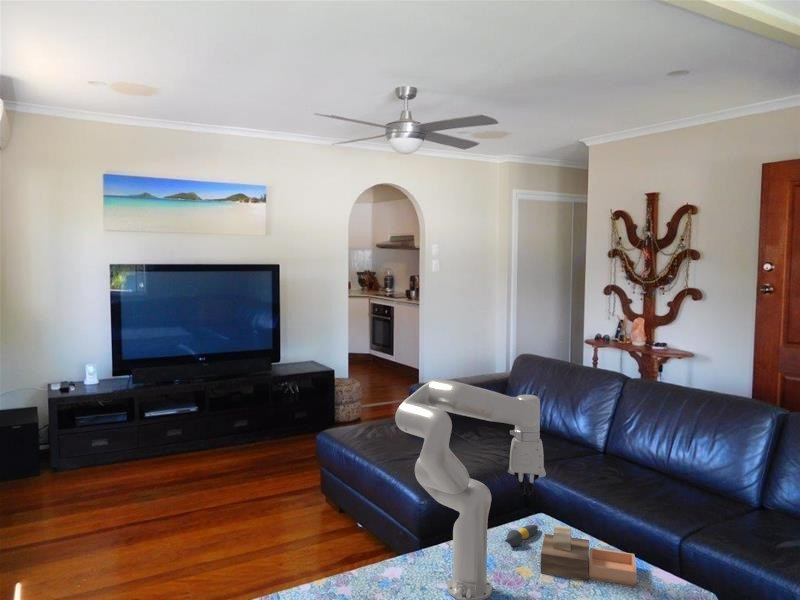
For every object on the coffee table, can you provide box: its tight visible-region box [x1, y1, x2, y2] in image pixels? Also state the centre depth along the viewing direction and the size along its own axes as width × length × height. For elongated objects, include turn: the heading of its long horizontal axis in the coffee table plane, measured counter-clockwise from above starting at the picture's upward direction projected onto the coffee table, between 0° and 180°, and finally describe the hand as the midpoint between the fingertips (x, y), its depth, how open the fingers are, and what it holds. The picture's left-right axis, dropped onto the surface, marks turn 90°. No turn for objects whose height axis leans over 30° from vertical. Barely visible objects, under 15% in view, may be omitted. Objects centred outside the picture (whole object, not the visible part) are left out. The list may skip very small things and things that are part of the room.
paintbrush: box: [504, 524, 539, 547], centre depth 202 cm, size 20×5×5 cm, turn 143°
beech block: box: [552, 525, 572, 551], centre depth 184 cm, size 5×5×5 cm
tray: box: [588, 547, 638, 587], centre depth 180 cm, size 12×13×4 cm
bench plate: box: [540, 533, 590, 581], centre depth 184 cm, size 14×14×6 cm
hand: (526, 493), depth 187 cm, fingers closed
